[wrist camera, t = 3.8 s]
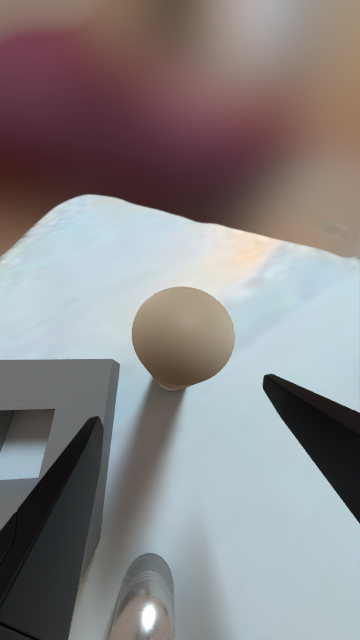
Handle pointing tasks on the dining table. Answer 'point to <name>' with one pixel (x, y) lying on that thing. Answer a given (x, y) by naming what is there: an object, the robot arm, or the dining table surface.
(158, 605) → the steel stub
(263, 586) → the dining table surface
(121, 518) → the dining table surface
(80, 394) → the plate
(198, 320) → the birch pin
